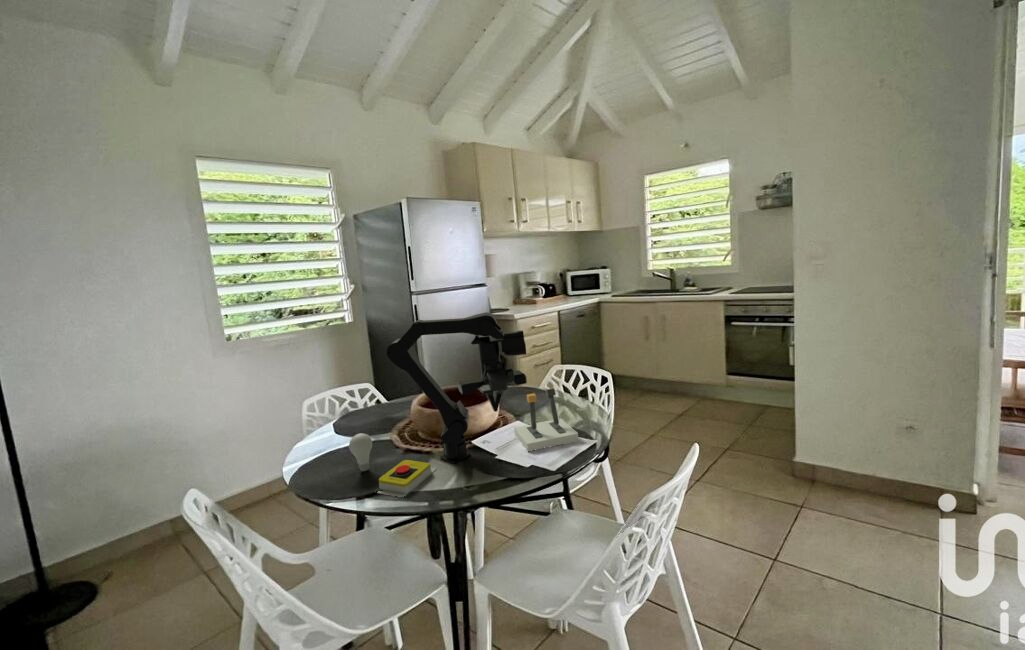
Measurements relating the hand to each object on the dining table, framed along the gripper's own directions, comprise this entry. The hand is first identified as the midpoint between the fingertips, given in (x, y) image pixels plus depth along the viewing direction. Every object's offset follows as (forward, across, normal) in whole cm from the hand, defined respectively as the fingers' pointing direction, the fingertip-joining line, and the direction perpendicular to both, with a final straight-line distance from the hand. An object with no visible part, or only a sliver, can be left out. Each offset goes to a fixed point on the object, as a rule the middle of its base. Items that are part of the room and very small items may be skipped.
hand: (495, 411), depth 124 cm
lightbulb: (+13, -37, +8) cm, 40 cm away
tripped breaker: (+10, +12, +3) cm, 16 cm away
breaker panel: (+13, +16, +3) cm, 21 cm away
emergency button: (+14, -27, -3) cm, 30 cm away
